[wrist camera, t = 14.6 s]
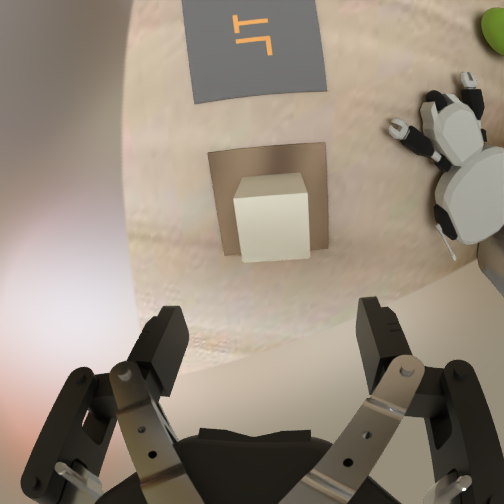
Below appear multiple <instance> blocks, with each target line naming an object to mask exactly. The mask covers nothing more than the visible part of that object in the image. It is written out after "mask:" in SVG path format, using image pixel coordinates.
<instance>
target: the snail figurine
mask: <svg viewBox="0 0 504 504" xmlns="http://www.w3.org/2000/svg"><path fill="white" fill-rule="evenodd" d="M481 27H482V32H483V35H484V37H485V39H486V41H487V42H488V44H489V45H490V46H491V47H492V48H493V49H494V50H495V51H496V52H498V53H499V54H501V55H503V56H504V8H491V9H489V10H487V11H486V12H485V13H484V15H483V17H482V21H481Z"/></svg>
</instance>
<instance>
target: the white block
mask: <svg viewBox="0 0 504 504" xmlns="http://www.w3.org/2000/svg"><path fill="white" fill-rule="evenodd" d="M233 201H234V208H235V215H236V221H237V228H238V235H239V242H240V249H241V255H242V262H243V263H249V262H265V261H280V260H295V259H310V236H309V211H308V193H307V190H306V187H305V184H304V181H303V178H302V175H301V173H288V174H275V175H263V176H252V177H242V180H241V182H240V184H239V186H238V189H237V191H236V193H235V196H234V198H233Z"/></svg>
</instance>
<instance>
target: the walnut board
mask: <svg viewBox="0 0 504 504" xmlns="http://www.w3.org/2000/svg"><path fill="white" fill-rule="evenodd" d="M208 159H209V165H210V172H211V178H212V184H213V190H214V196H215V203H216V209H217V215H218V220H219V226H220V232H221V238H222V244H223V249H224V255H225V256H227V255H241V249H240V242H239V235H238V228H237V221H236V215H235V208H234V201H233V198H234V196H235V193H236V191H237V189H238V186H239V184H240V182H241V180H242V177H252V176H263V175H275V174H288V173H301V175H302V178H303V181H304V184H305V187H306V190H307V193H308V211H309V236H310V250H319V249H328V187H327V163H326V145H325V143H303V144H288V145H274V146H263V147H252V148H243V149H234V150H225V151H217V152H210V153H208Z"/></svg>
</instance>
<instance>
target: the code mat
mask: <svg viewBox="0 0 504 504" xmlns="http://www.w3.org/2000/svg"><path fill="white" fill-rule="evenodd" d="M182 7H183V16H184V25H185V34H186V43H187V51H188V59H189V67H190V74H191V82H192V89H193V96H194V104H198V103H204V102H210V101H216V100H223V99H230V98H237V97H245V96H254V95H264V94H276V93H290V92H310V91H327V85H326V75H325V67H324V58H323V51H322V43H321V36H320V30H319V23H318V17H317V11H316V5H315V0H182Z"/></svg>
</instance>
